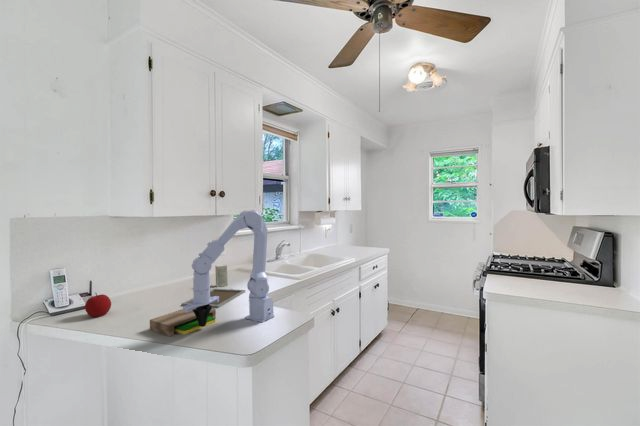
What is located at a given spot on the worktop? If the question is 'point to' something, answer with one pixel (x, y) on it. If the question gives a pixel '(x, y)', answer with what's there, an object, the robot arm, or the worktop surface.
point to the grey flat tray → (220, 296)
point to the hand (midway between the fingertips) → (202, 325)
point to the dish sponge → (192, 325)
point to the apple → (98, 305)
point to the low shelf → (173, 321)
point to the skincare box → (221, 275)
